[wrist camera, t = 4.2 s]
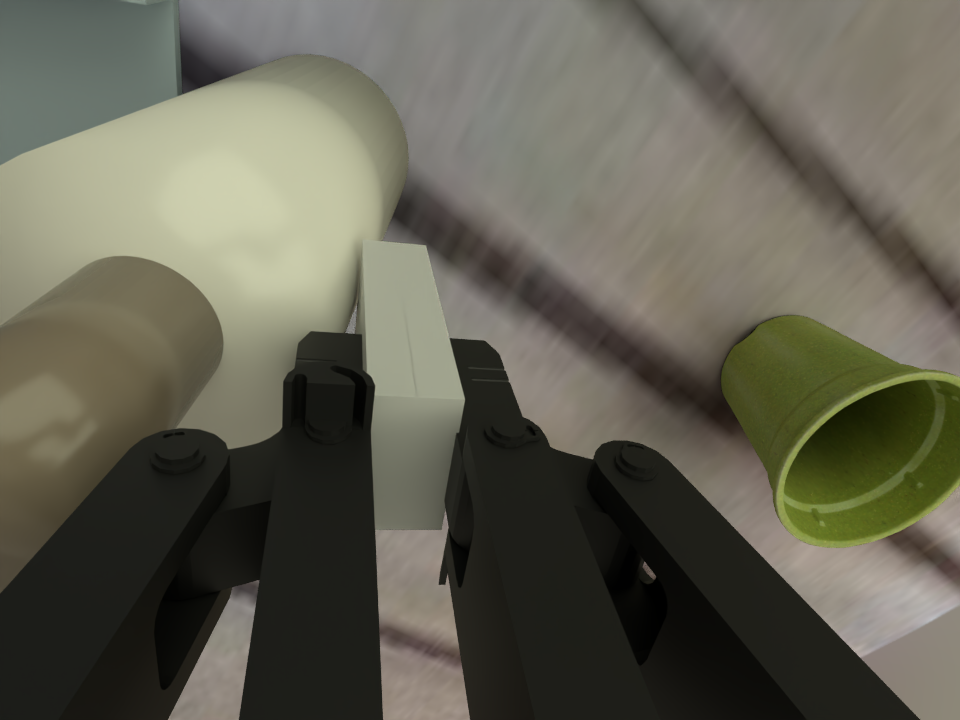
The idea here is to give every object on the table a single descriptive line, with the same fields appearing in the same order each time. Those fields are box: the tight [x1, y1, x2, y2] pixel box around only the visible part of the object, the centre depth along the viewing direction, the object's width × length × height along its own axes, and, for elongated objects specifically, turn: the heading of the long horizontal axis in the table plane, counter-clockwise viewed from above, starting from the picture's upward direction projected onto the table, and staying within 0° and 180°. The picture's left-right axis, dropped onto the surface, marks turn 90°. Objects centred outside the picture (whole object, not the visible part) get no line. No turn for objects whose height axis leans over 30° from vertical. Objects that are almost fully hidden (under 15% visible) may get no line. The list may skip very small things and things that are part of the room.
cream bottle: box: [0, 54, 409, 593], centre depth 17 cm, size 7×7×20 cm
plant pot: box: [721, 315, 960, 548], centre depth 32 cm, size 9×9×9 cm
